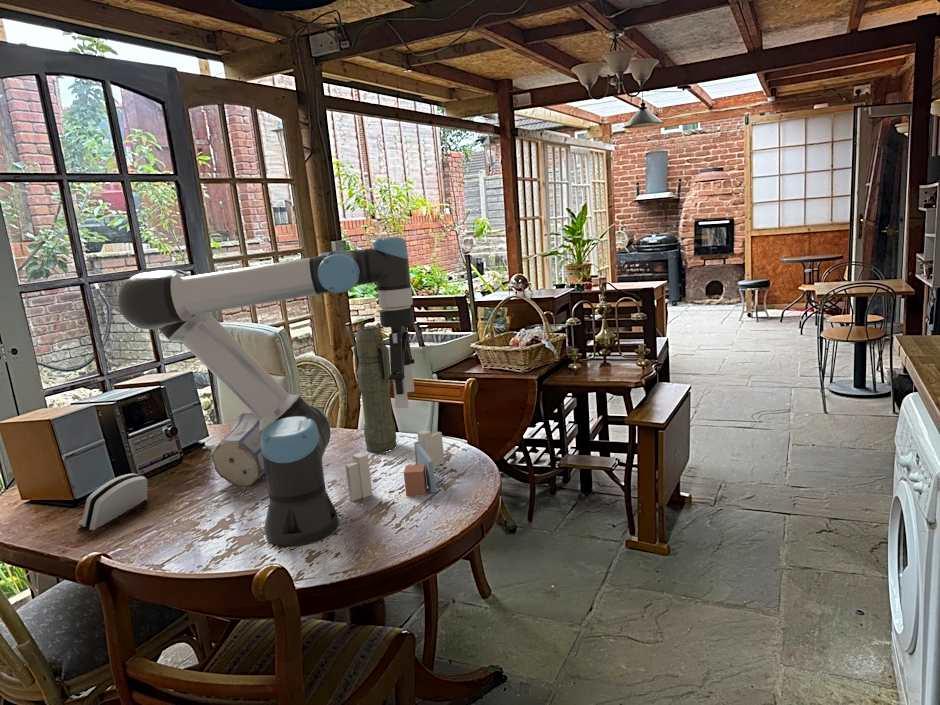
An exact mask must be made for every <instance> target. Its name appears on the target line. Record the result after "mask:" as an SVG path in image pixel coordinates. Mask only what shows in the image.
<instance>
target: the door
mask: <svg viewBox="0 0 940 705" xmlns="http://www.w3.org/2000/svg"><path fill="white" fill-rule="evenodd" d="M413 446H414V456H415V465H422V464H425V473H426V483H427V489H429V491H430V492H431V493H435V492H436V491H437V490H436V482H435V481H436V480H435V479H436V478H435V472H434V471H435V469H433V461H432V460H431V458H430V457H429V456H428V454H427V453H426V451H425V450H424V449H423V447H422V446H421V445H420V442H418V441H414V442H413Z"/></svg>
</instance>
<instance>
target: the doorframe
mask: <svg viewBox="0 0 940 705" xmlns="http://www.w3.org/2000/svg"><path fill="white" fill-rule="evenodd" d="M417 442H420V445H421V446H422V447H423V449H424V450H425V451H426V453H427V454H428V456H429V457H430V458H431V460H432V461H433V469H434V468H435V469H436V466H437V467H439V466H438V465H440V464H442V463H444V462H445V454H444V443H443V433H442V432H441V431H436V432H434V433H432V431H430V430H427V429H423V430H420V431H418V432H417ZM352 462H353V463H350V464H347V465H345V471H346V480H347V488H348V495H349V497H348V498H349V501H351V502H354V501H357V500H360V499H365V498H367V497H370V496H372V495H373V489H372V480H371V479H372V478H371V473H370V472H371V471H370V463H369V455H368V454H366V453H364V452H359V453H357V454H354V455H352ZM444 464H445V463H444ZM442 465H443V464H442ZM440 466H441V465H440ZM435 469H434V470H435Z"/></svg>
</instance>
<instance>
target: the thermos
mask: <svg viewBox="0 0 940 705" xmlns="http://www.w3.org/2000/svg"><path fill="white" fill-rule="evenodd" d="M384 343H385V341H384V335H383V333H382V331H381V328H380V327H378V326H376V325H371V326H363V327H359V329H357V332H356V338H355V345H354V347H353V354H354V361H355V362H354V364H355V369H356V375H357V380H358V382H357V383H358V388H359V389H358V390H359V392H360V394H361V399H362V407H363V408H362V410H363V418H364V424H363V434H364V442H365V444H366V451H367V452H368V453H371V454H381V453H380V452H385V453H387V452H386V451H389V450H392V449H394V448H395V447H396V446H397V447H398V445H397V444H398V443H397V432H396V423H395V421H394V419H393V410H392V403H391V402H392V401H391V394H390V391H391V387H392V386H391V380H389V376H391V361H390V349H389V348H388V347H387V345H386V344H384ZM397 447H396V448H397ZM394 450H395V449H394ZM392 451H393V450H392ZM389 452H390V451H389Z"/></svg>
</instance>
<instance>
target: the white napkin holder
mask: <svg viewBox="0 0 940 705" xmlns="http://www.w3.org/2000/svg"><path fill="white" fill-rule="evenodd" d="M146 499H147V500H148V479H147V478H146V477H145V476H144V475H141V476H140V474H139V473H138V474H137V473H128V474H127V473H125V474H123V475H120V476H117V477H115V478H113V479H111V480H109V481H107V482H105V483H103V485H101V486H100V487H98V488H97V489H95V491H93V492H92V493H91V494H90V495H89V496H88V497H87V498H86V501H85V505H84V510H83V514H82V519H81V520H79V521H77V522H78V523H77V529H79V528H80V529H82V528H86V527H88V528H89V529H88V530H89V531H90V530H91V531H95V530H97V529H99V528H100V526H101V527H102V526H104V525H106V524H108V523H109V522H111V521H113V520H115V519H116V518H118V517H119V515H120V516H121V514H122V515H124V514H125V513H127V512H128V511H127V510H129V509H131V508H132V509H134V508H135V507H134V506H136V505H138V504H139V505H141V504H142V503H141V502H143V501H144V500H146ZM147 500H146V501H147ZM140 503H141V504H140ZM143 503H144V502H143ZM139 505H138V506H139ZM133 507H134V508H133ZM136 507H137V506H136ZM132 509H131V510H132ZM126 511H127V512H126ZM129 511H130V510H129ZM124 512H125V513H124ZM123 513H124V514H123ZM117 516H118V517H117ZM114 518H115V519H114ZM112 519H113V520H112ZM110 520H111V521H110ZM107 522H108V523H107ZM105 523H106V524H105ZM98 527H99V528H98Z"/></svg>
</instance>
